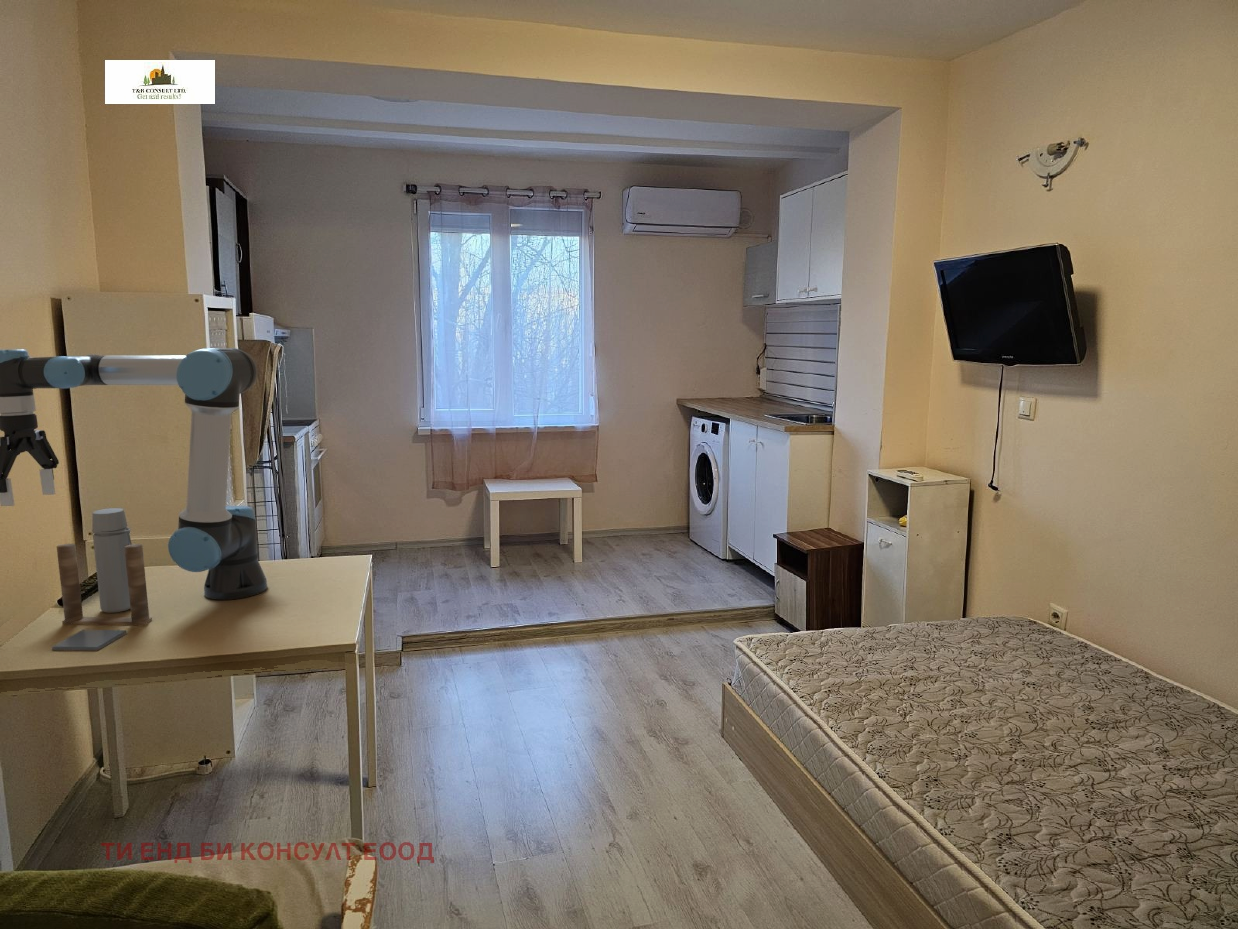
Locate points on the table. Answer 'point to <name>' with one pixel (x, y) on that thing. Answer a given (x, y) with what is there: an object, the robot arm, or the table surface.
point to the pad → (89, 640)
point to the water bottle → (111, 558)
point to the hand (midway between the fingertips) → (29, 500)
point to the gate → (73, 595)
